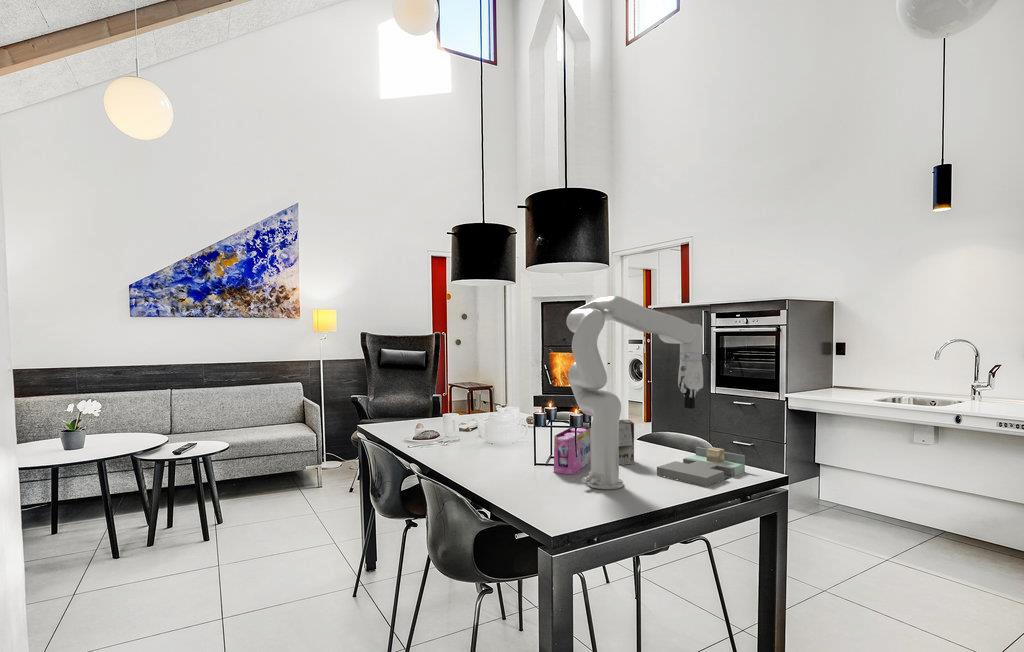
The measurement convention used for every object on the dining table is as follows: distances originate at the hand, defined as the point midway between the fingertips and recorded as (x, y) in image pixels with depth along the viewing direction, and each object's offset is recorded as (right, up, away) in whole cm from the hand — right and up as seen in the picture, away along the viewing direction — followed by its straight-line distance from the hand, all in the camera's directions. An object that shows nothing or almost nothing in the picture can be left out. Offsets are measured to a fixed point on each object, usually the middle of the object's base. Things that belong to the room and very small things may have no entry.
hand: (689, 408), depth 194 cm
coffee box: (-20, -24, +17) cm, 36 cm away
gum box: (-41, -24, +10) cm, 49 cm away
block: (+12, -21, +6) cm, 25 cm away
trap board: (+4, -24, 0) cm, 24 cm away
